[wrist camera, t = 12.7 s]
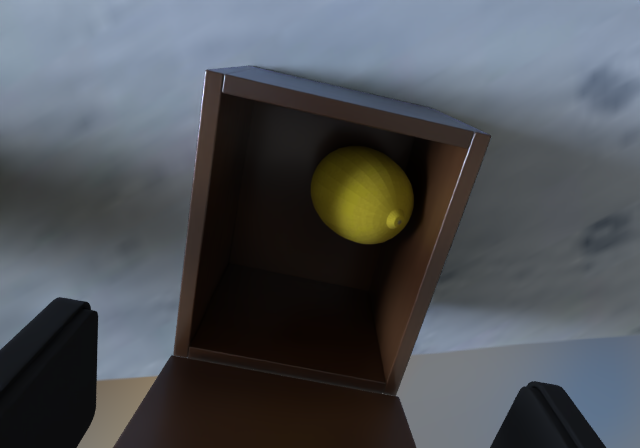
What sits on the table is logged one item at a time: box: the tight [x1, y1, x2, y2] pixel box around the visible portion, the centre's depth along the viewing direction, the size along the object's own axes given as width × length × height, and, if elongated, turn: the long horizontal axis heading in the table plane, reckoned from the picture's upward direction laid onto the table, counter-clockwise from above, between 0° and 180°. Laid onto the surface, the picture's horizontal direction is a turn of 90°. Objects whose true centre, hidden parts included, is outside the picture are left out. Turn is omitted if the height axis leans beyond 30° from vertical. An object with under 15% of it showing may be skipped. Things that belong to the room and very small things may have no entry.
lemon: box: [311, 146, 414, 244], centre depth 25 cm, size 6×6×8 cm
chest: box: [174, 66, 491, 396], centre depth 26 cm, size 15×13×11 cm
